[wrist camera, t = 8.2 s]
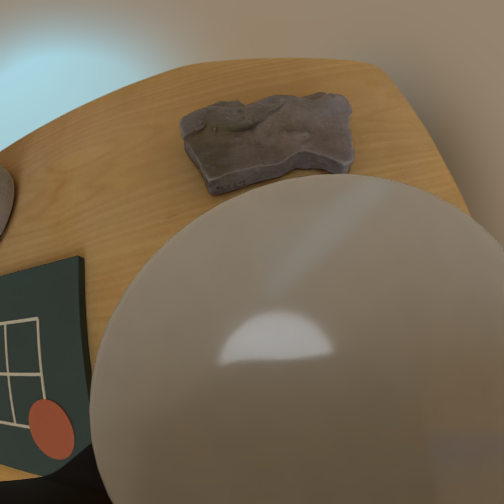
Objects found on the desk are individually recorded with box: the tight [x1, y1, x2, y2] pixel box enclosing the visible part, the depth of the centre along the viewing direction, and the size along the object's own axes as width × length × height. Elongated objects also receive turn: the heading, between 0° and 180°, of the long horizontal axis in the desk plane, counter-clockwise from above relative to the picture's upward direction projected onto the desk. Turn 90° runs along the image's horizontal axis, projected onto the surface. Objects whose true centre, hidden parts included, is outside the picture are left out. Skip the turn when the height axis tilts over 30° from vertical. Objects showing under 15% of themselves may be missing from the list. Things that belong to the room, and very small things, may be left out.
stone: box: [180, 92, 354, 194], centre depth 25 cm, size 15×10×4 cm, turn 96°
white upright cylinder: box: [89, 174, 504, 504], centre depth 8 cm, size 5×5×13 cm
